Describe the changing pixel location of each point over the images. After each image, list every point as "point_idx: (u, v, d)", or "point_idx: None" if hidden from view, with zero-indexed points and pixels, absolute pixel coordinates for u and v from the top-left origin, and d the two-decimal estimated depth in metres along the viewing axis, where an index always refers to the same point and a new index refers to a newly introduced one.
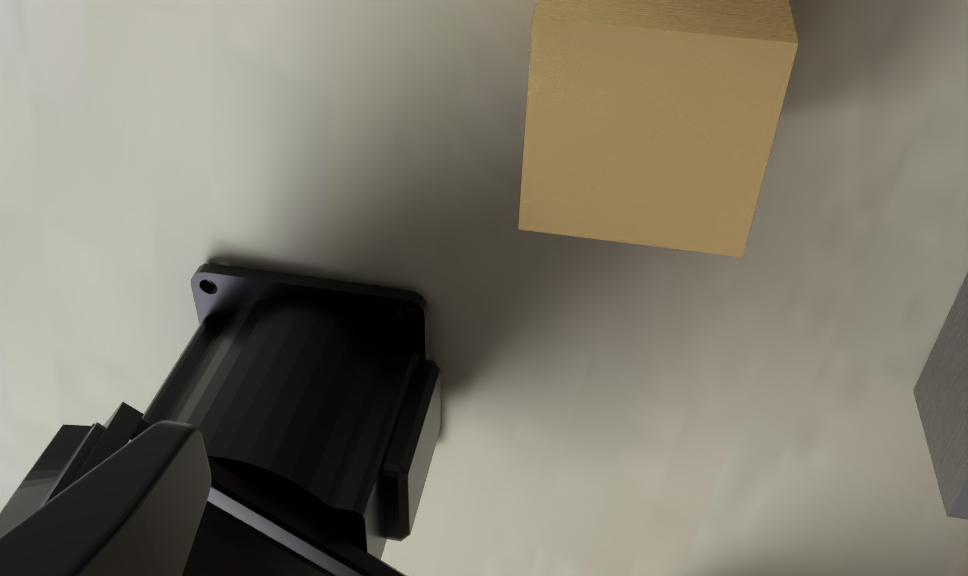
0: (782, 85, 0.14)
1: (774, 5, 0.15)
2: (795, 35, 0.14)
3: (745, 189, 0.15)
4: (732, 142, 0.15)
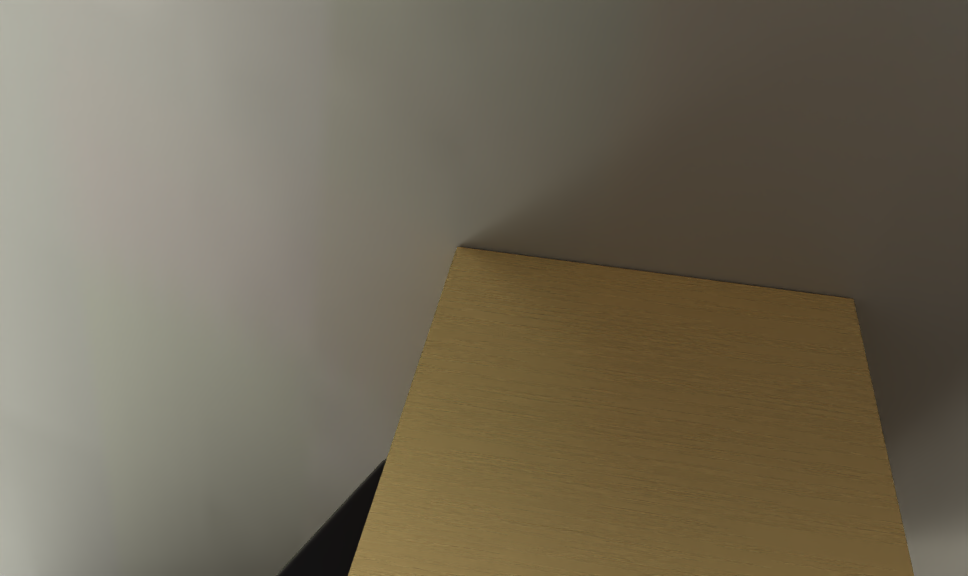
0: None
1: None
2: None
3: None
4: None
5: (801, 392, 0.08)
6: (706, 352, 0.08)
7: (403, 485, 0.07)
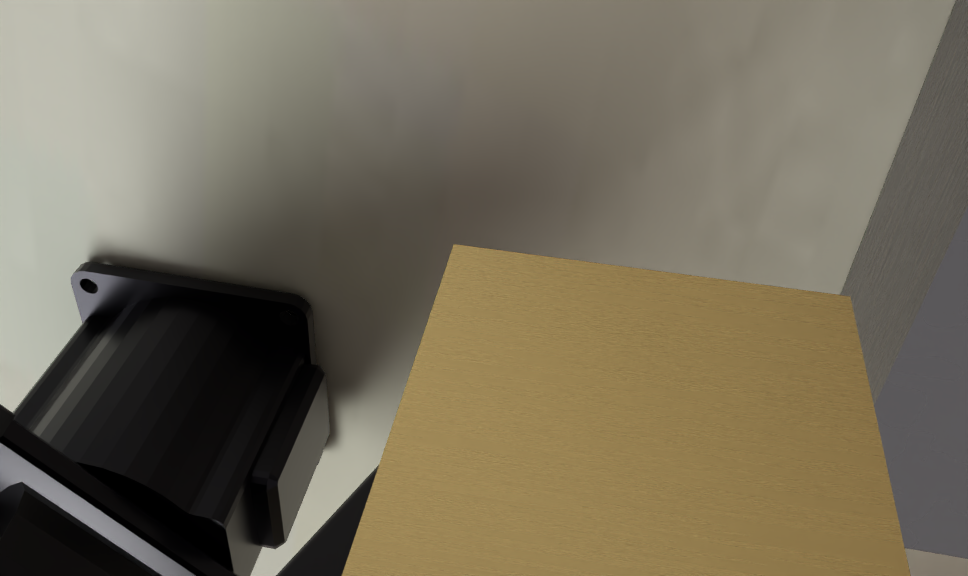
0: None
1: None
2: None
3: None
4: None
5: (798, 390, 0.08)
6: (703, 350, 0.08)
7: (399, 482, 0.07)
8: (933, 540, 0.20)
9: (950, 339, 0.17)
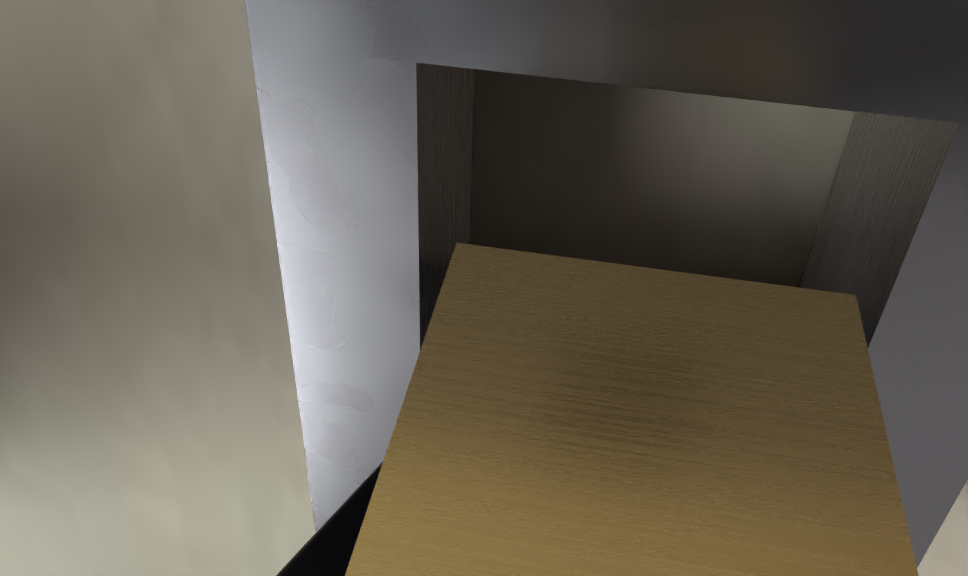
0: None
1: None
2: None
3: None
4: None
5: (803, 389, 0.08)
6: (707, 348, 0.08)
7: (401, 482, 0.07)
8: None
9: (339, 363, 0.14)
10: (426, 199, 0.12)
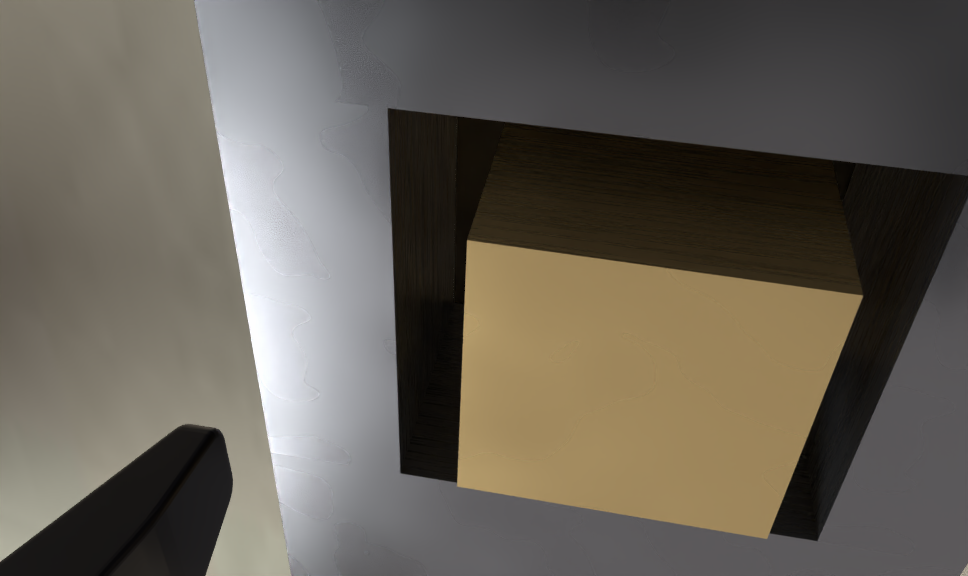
0: (835, 346, 0.10)
1: (821, 213, 0.10)
2: (856, 275, 0.09)
3: (774, 464, 0.11)
4: (759, 410, 0.10)
5: None
6: None
7: (512, 152, 0.11)
8: None
9: (313, 415, 0.13)
10: (402, 247, 0.12)
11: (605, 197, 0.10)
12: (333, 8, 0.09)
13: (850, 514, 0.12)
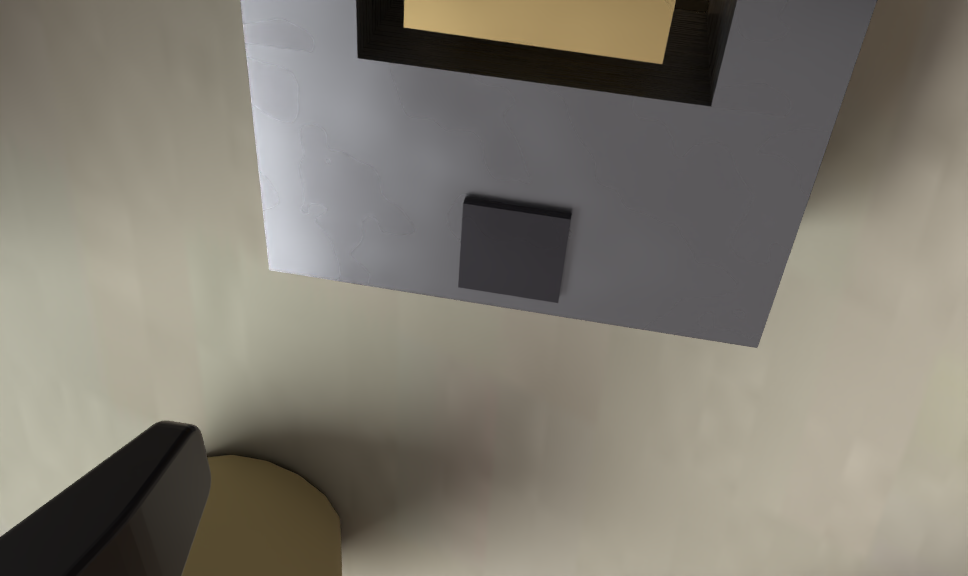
0: None
1: None
2: None
3: None
4: None
5: None
6: None
7: None
8: (383, 272, 0.19)
9: None
10: None
11: None
12: None
13: (737, 71, 0.15)
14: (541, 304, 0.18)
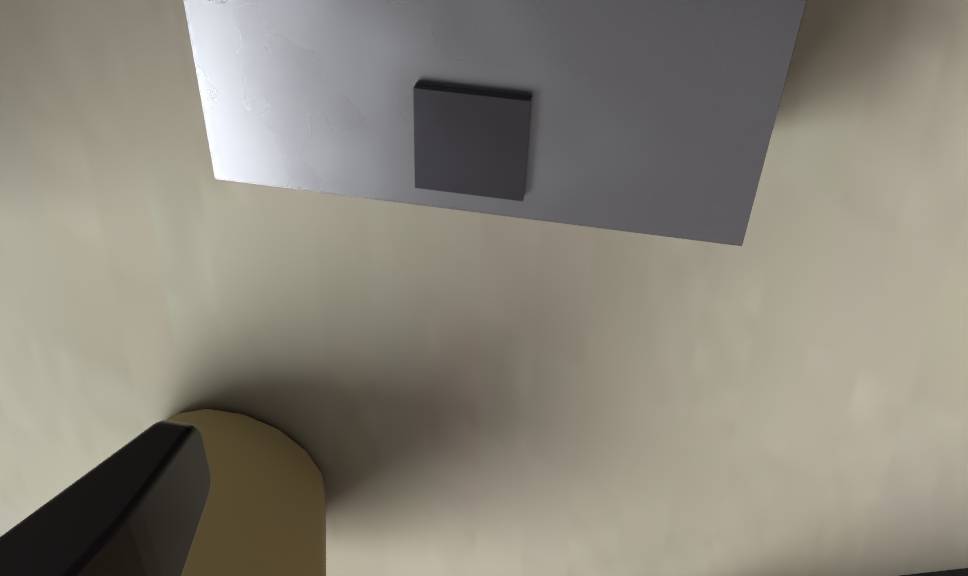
0: None
1: None
2: None
3: None
4: None
5: None
6: None
7: None
8: (335, 175, 0.17)
9: None
10: None
11: None
12: None
13: None
14: (506, 205, 0.17)
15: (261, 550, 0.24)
